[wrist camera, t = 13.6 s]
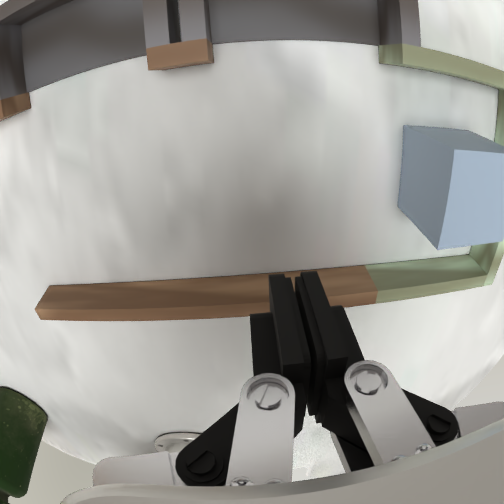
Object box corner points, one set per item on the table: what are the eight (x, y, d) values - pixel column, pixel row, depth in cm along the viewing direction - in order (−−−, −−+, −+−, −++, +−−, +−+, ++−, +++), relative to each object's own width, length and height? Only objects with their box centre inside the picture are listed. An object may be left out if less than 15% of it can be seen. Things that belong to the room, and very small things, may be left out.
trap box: (474, 264, 24) (491, 284, 21) (54, 295, 24) (40, 319, 22) (504, 5, 11) (531, 5, 8) (-14, 33, 11) (-42, 35, 9)
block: (458, 202, 21) (502, 241, 16) (397, 205, 21) (437, 249, 16) (468, 130, 18) (522, 156, 13) (403, 124, 18) (454, 149, 13)
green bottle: (33, 420, 41) (5, 528, 20) (-9, 388, 36) (-47, 500, 15) (58, 418, 39) (28, 543, 18) (10, 382, 34) (-33, 514, 13)
